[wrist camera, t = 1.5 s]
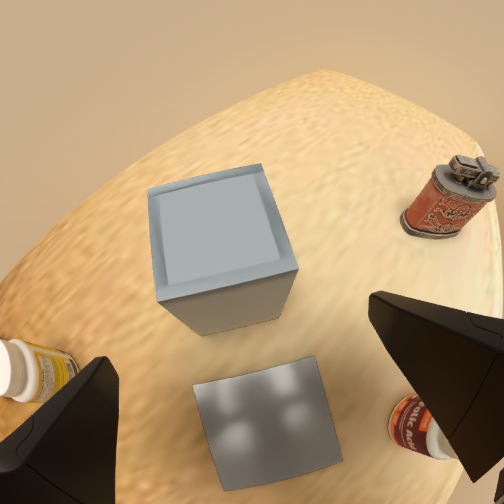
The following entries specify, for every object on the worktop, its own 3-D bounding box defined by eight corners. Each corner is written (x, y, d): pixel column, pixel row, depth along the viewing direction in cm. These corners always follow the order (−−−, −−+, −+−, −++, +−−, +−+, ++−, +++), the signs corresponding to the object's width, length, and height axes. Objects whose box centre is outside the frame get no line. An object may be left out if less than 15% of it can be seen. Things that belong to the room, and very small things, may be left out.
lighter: (452, 213, 25) (500, 156, 16) (461, 239, 23) (516, 186, 14) (396, 208, 25) (442, 138, 16) (404, 239, 23) (460, 172, 14)
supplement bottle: (38, 376, 18) (-27, 363, 10) (59, 340, 19) (-7, 317, 12) (68, 413, 16) (0, 415, 9) (90, 376, 18) (22, 367, 10)
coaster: (341, 459, 15) (343, 461, 15) (224, 488, 14) (223, 491, 14) (312, 355, 19) (314, 355, 19) (193, 384, 18) (192, 385, 18)
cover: (278, 317, 20) (298, 268, 11) (200, 336, 20) (156, 301, 11) (258, 247, 23) (260, 163, 14) (187, 264, 22) (147, 189, 13)
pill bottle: (390, 395, 17) (455, 397, 10) (435, 390, 17) (503, 385, 10) (382, 449, 15) (442, 475, 8) (428, 441, 15) (493, 454, 8)
